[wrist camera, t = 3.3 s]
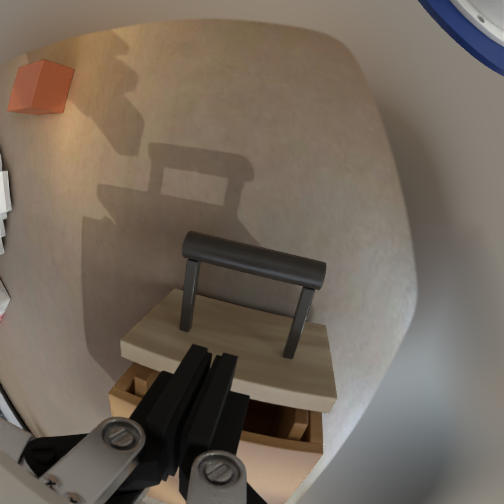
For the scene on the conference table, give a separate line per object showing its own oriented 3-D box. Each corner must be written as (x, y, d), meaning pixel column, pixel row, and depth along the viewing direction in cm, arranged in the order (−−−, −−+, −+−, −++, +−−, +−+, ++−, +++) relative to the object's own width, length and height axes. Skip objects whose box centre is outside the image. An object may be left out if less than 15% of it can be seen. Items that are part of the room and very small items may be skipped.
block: (74, 69, 18) (43, 58, 14) (63, 112, 19) (30, 107, 15) (48, 75, 19) (18, 67, 14) (37, 115, 20) (6, 111, 16)
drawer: (184, 211, 19) (121, 232, 12) (350, 249, 18) (383, 295, 11) (166, 407, 24) (134, 463, 17) (279, 437, 23) (271, 502, 16)
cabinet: (168, 321, 23) (107, 392, 13) (318, 359, 21) (323, 453, 12) (164, 426, 26) (130, 488, 17) (273, 456, 25) (263, 526, 16)
